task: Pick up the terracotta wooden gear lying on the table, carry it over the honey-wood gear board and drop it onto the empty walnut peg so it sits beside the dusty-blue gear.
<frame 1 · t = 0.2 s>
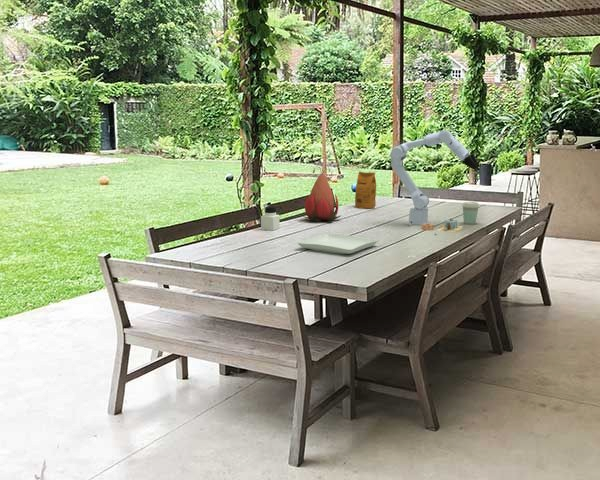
hand: (477, 167, 350), 31 cm above the table, tool tilted 45°, fingers open, 7 cm apart
coffee cup: (469, 225, 368), on the table
gear board: (449, 230, 354), on the table
medicine bottle: (270, 229, 355), on the table
square plate: (338, 249, 311), on the table
coffee package: (365, 208, 428), on the table
loose gear: (427, 231, 351), on the table
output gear: (450, 227, 356), resting on gear board
decorative flower: (321, 220, 383), on the table
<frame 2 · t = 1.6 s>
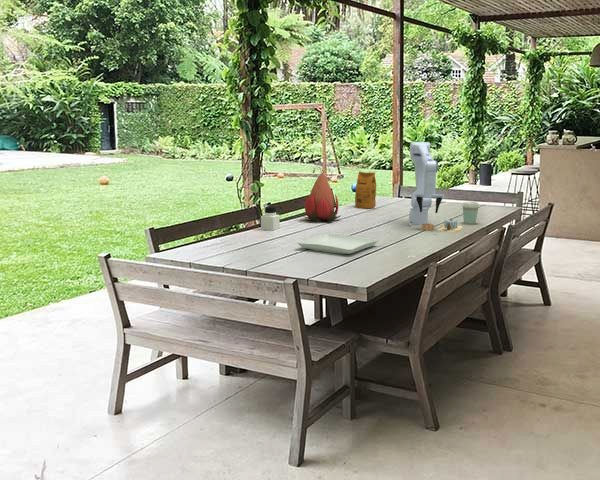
hand: (428, 212, 349), 10 cm above the table, tool pointing down, fingers open, 7 cm apart
nothing on the table moved.
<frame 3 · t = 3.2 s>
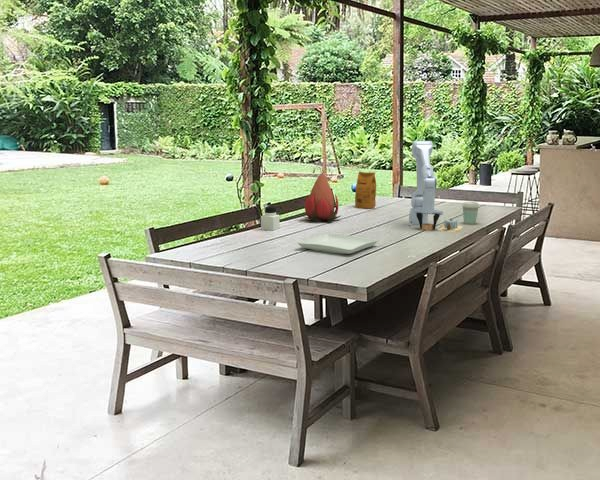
hand: (427, 228, 351), 1 cm above the table, tool pointing down, fingers closed on loose gear, 6 cm apart
loose gear: (427, 231, 351), on the table, touching gripper
everything else where it was.
when the fingers open (5 cm above the table, at t = 6.6 s): loose gear drops 2 cm, resting on gear board.
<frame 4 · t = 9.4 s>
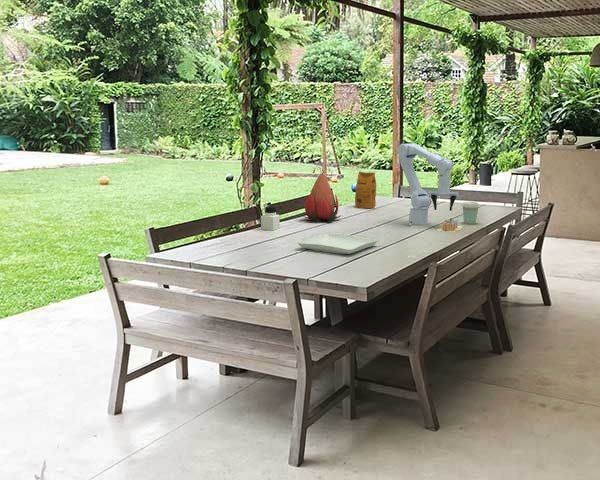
hand: (443, 210, 354), 10 cm above the table, tool pointing down, fingers open, 7 cm apart
loose gear: (448, 229, 349), point 1 cm above the table, touching gear board
everything else where it was.
at the end: loose gear 0.4 cm from the target spot on the gear board, point 1.1 cm above the gear board's base; loose gear tilted 0°; the gripper is holding nothing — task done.
